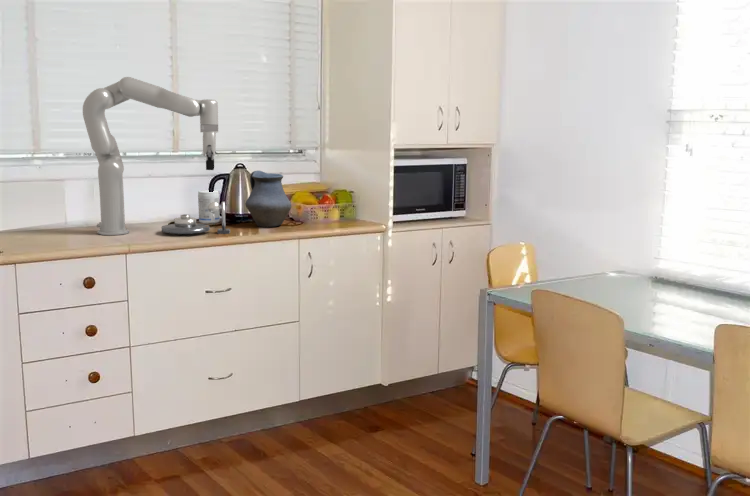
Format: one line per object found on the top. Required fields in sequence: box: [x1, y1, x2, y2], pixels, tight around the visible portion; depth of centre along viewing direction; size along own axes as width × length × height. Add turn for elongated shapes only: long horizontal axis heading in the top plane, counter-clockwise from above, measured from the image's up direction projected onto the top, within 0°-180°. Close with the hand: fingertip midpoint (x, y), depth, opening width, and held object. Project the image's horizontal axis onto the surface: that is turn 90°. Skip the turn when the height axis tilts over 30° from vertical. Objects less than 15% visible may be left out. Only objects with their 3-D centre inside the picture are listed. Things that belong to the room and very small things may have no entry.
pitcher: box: [244, 170, 292, 228], centre depth 348 cm, size 21×22×25 cm
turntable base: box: [176, 233, 198, 236], centre depth 326 cm, size 10×10×1 cm
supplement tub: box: [197, 189, 221, 224], centre depth 357 cm, size 10×10×15 cm
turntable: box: [160, 223, 211, 235], centre depth 326 cm, size 20×20×2 cm
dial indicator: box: [208, 201, 231, 235], centre depth 327 cm, size 9×5×14 cm, turn 97°
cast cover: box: [174, 214, 197, 227], centre depth 329 cm, size 9×9×5 cm
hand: (210, 169), depth 328 cm, fingers open, 9 cm apart
